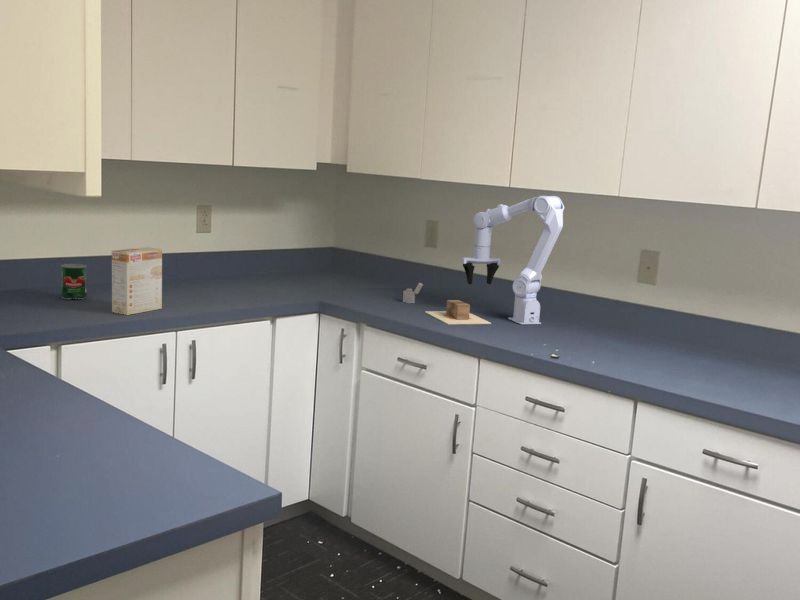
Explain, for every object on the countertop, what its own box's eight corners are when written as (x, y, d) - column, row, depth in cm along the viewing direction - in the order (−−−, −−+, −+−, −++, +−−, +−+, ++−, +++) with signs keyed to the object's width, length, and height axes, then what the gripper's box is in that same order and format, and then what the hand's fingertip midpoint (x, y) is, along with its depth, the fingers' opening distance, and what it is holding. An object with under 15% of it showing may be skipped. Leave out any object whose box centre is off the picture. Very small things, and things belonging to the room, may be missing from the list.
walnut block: (446, 314, 279) (447, 300, 278) (457, 314, 281) (458, 300, 280) (456, 319, 271) (458, 305, 270) (468, 319, 272) (470, 305, 272)
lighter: (402, 302, 299) (404, 281, 298) (404, 301, 301) (405, 280, 299) (420, 304, 296) (421, 283, 295) (421, 304, 298) (423, 282, 297)
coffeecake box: (146, 305, 262) (147, 246, 259) (162, 309, 259) (163, 249, 256) (110, 312, 249) (110, 250, 246) (127, 315, 246) (127, 252, 243)
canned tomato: (68, 301, 262) (68, 267, 260) (56, 297, 267) (56, 264, 265) (91, 298, 268) (91, 266, 266) (79, 295, 273) (79, 263, 271)
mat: (491, 323, 270) (491, 322, 269) (447, 324, 264) (447, 323, 264) (465, 311, 288) (465, 310, 288) (424, 312, 282) (424, 311, 282)
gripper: (495, 245, 290) (492, 282, 293) (459, 244, 285) (456, 281, 288) (504, 247, 284) (501, 285, 286) (467, 246, 279) (464, 285, 281)
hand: (479, 283), depth 287 cm, fingers open, 7 cm apart
